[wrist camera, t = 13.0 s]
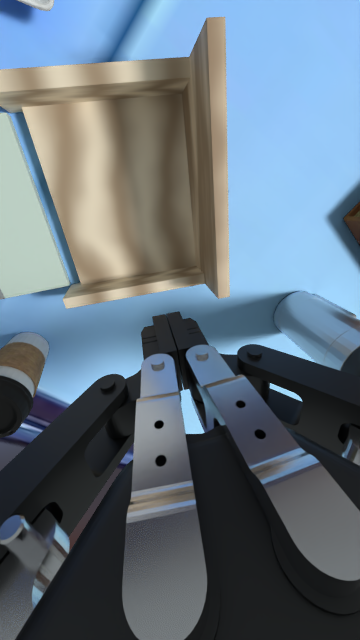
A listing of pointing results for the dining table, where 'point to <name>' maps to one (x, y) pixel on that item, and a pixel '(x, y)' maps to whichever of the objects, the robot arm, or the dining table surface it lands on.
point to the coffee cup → (20, 378)
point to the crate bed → (135, 167)
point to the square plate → (39, 4)
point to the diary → (354, 221)
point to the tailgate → (24, 225)
